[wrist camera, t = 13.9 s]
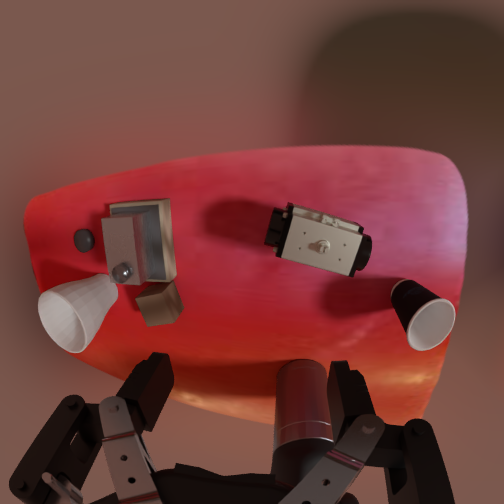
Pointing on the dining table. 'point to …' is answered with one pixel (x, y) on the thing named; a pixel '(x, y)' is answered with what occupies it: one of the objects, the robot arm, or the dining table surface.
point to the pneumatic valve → (318, 239)
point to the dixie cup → (422, 314)
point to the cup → (76, 310)
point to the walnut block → (160, 304)
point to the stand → (156, 234)
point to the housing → (128, 247)
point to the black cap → (84, 240)
